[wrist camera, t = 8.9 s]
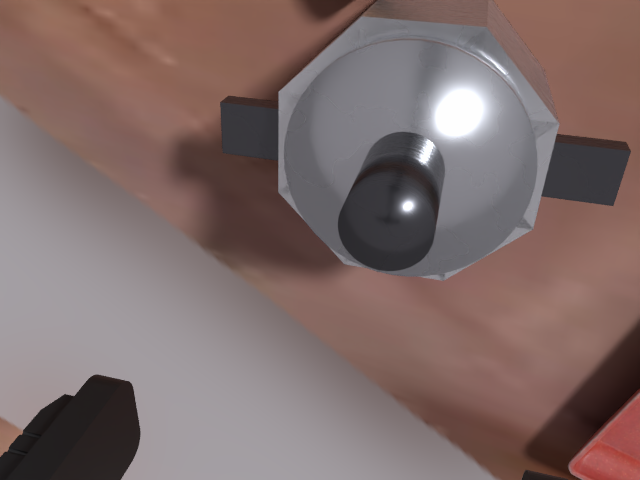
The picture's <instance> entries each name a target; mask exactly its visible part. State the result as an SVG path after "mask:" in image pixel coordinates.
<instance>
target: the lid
mask: <svg viewBox="0 0 640 480" xmlns="http://www.w3.org/2000/svg"><path fill="white" fill-rule="evenodd" d="M284 169H285V174H286V179H287V184H288V187H289V190H290V193H291V196H292V198H293V200H294V203H295V205H296V207H297V209H298V211H299V212H300V214H301V215H302V217H303V219H304V220H305V222H306V223H307V224H308V226H309V227H310V228H311V229H312V230H313V232H314V233H315V234H316V235H317V236H318V237H319V238H320V239H321V240H322V241H323V242H324V243H325V244H326V245H328V246H329V247H330V248H332V249H333V250H334V251H336V252H337V253H338V254H340V255H342V256H343V257H345V258H347V259H348V260H350V261H352V262H354V263H356V264H358V265H361V266H363V267H366V268H369V269H371V270H374V271H377V272H382V273H386V274H391V275H399V276H430V275H438V274H442V273H447V272H451V271H454V270H457V269H460V268H463V267H466V266H468V265H470V264H472V263H474V262H476V261H478V260H480V259H481V258H483V257H484V256H486V255H487V254H489V253H490V252H492V251H493V250H494V249H495V248H497V247H498V246H499V245H500V244H501V243H502V242H504V241H505V239H506V238H507V237H508V236H509V235H510V234H511V233H512V232H513V231H514V229H515V228H516V226H517V225H518V223H519V222H520V220H521V219H522V218H523V216H524V214H525V212H526V210H527V208H528V205H529V203H530V201H531V197H532V194H533V191H534V188H535V182H536V176H537V148H536V141H535V134H534V129H533V126H532V122H531V119H530V115H529V113H528V111H527V108H526V106H525V104H524V102H523V100H522V98H521V96H520V95H519V93H518V92H517V90H516V89H515V87H514V86H513V84H512V83H511V82H510V81H509V80H508V79H507V77H506V76H505V75H504V74H503V73H502V72H501V71H500V70H499V69H498V68H496V67H495V66H494V65H493V64H492V63H491V62H490V61H488V60H487V59H485V58H484V57H482V56H481V55H479V54H477V53H476V52H474V51H472V50H470V49H468V48H466V47H464V46H462V45H459V44H457V43H454V42H451V41H447V40H444V39H441V38H435V37H429V36H423V35H400V36H391V37H385V38H381V39H377V40H373V41H370V42H367V43H365V44H362V45H360V46H357V47H355V48H353V49H351V50H349V51H348V52H346V53H344V54H342V55H341V56H339V57H338V58H337V59H335V60H334V61H333V62H332V63H330V64H329V65H328V66H327V67H326V68H325V69H324V70H323V71H322V72H321V73H320V74H319V75H318V76H317V77H316V78H315V79H314V80H313V81H312V82H311V83H310V85H309V86H308V87H307V89H306V90H305V91H304V93H303V94H302V95H301V97H300V99H299V101H298V102H297V104H296V106H295V108H294V110H293V112H292V115H291V118H290V120H289V123H288V127H287V131H286V136H285V143H284Z"/></svg>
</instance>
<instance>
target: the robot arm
mask: <svg viewBox="0 0 640 480" xmlns="http://www.w3.org/2000/svg"><path fill="white" fill-rule="evenodd" d="M139 440H140V426H139V420H138V414H137V408H136V402H135V396H134V390H133V386H132V384H131V383H130V382H129V381H124V380H120V379H115V378H111V377H106V376H101V375H93V376H92V377H90V378H89V379H88V380H87V381H86V383H85V384H84V385H83V386H82V387H81V389H80V390H79V391H78V392H77V394H76V395H75V396H71V395H66V394H64V395H63V396H61V397H60V398H58V399H57V400H55V401H54V402H52V403H51V404H49V405H48V406H46V407H45V408H43V409H42V410H40V412H39V413H38V414H37V415H36V416H35V417H34V419H33V420H32V421H31V422H30V423H29V424H28V426H27V427H26V428H25V429H24V430H23V434H22V435H19V436H18V437H17V438H16V440H15V441H14V442H13V443H12V444H11V445H10V447H9V450H8V451H7V452H4V453H3V455H2V456H1V457H0V480H121V478H122V476H123V475H124V473H125V472H126V470H127V469H128V467H129V465H130V464H131V462H132V461H133V459H134V456H135V454H136V452H137V449H138V446H139ZM522 480H568V479H565V478H561V477H556V476H552V475H547V474H543V473H538V472H533V471H529V470H526V471H525V472H524V474H523V477H522Z"/></svg>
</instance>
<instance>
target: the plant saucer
mask: <svg viewBox="0 0 640 480" xmlns="http://www.w3.org/2000/svg"><path fill="white" fill-rule="evenodd" d="M568 469H569V471H570V473H571V474H572V475H574V476H576V477H578V478H580V479H582V480H640V388H639V389H638V390H637V391H636V392H635V393H634V394H633V395H632V396H631V397H630V398H629V399H628V400H627V401H626V402H625V403H624V404H623V405H622V406H621V407H620V408H619V409H618V410H617V411H616V412H615V413H614V414H613V415H612V416H611V417H610V418H609V419H608V420H607V421H606V422H605V423H604V424H603V425H602V426H601V427H600V428H599V430H598V431H597V432H596V433H595V434H594V435H593V436H592V437H591V438H590V439H589V440H588V441H587V442H586V443H585V444H584V445H583V446H582V447H581V448H580V449H579V451H578V452H577V453H576V454H575V455H574V456H573V458H572V459H571V460H570V462H569V464H568Z"/></svg>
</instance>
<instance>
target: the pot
mask: <svg viewBox="0 0 640 480" xmlns="http://www.w3.org/2000/svg"><path fill="white" fill-rule="evenodd" d="M400 35H423V36H429V37H435V38H441V39H444V40H447V41H451V42H454V43H457V44H459V45H462V46H464V47H466V48H468V49H470V50H472V51H474V52H476V53H477V54H479V55H481V56H482V57H484V58H485V59H487V60H488V61H490V62H491V63H492V64H493V65H494V66H495V67H496V68H498V69H499V70H500V71H501V72H502V73H503V74H504V75H505V76H506V77H507V79H508V80H509V81H510V82H511V83H512V84H513V86H514V87H515V89H516V90H517V92H518V93H519V95H520V96H521V98H522V100H523V102H524V104H525V106H526V108H527V111H528V113H529V115H530V119H531V122H532V126H533V129H534V134H535V141H536V148H537V176H536V182H535V188H534V191H533V194H532V197H531V201H530V203H529V205H528V208H527V210H526V212H525V214H524V216H523V218H522V219H521V220H520V222H519V223H518V225H517V226H516V228H515V229H514V231H513V232H512V233H511V234H510V235H509V236H508V237H507V238H506V239H505V241H504V242H502V243H501V244H500V245H499V246H498V247H497V248H495V249H494V250H493V251H492V252H494V251H496V250H498V249H499V248H501V247H503V246H505V245H506V244H508V243H510V242H512V241H513V240H515V239H517V238H519V237H520V236H522V235H524V234H526V233H527V232H529V231H531V230H533V227H534V223H535V219H536V215H537V211H538V207H539V203H540V199H541V196H544V197H551V198H558V199H566V200H573V201H580V202H588V203H595V204H603V205H610V206H613V205H614V202H615V199H616V196H617V193H618V190H619V187H620V183H621V180H622V177H623V174H624V171H625V168H626V165H627V162H628V158H629V155H630V152H631V151H630V149H629V147H628V145H627V143H626V142H621V141H612V140H604V139H595V138H587V137H578V136H570V135H561V134H557V131H558V127H559V120H558V117H557V113H556V109H555V106H554V102H553V99H552V95H551V91H550V88H549V84H548V80H547V77H546V73H545V70H544V69H543V67H542V66H541V65H540V63H539V62H538V61H537V59H536V58H535V57H534V55H533V54H532V52H531V51H530V50H529V48H528V47H527V46H526V44H525V43H524V42H523V40H522V39H521V38H520V36H519V35H518V33H517V32H516V31H515V29H514V28H513V27H512V25H511V24H510V23H509V21H508V20H507V19H506V17H505V16H504V14H503V13H502V12H501V10H500V9H499V8H498V6H497V5H496V4H495V2H494V1H493V0H377V1H376V2H375V3H374V4H373V5H372V6H370V7H369V8H368V9H367V10H366V11H365V12H364V13H363V14H362V15H361V16H360V17H358V18H357V19H356V20H355V21H354V22H353V23H352V24H351V25H350V26H349V27H347V28H346V29H345V30H344V31H343V32H342V33H341V34H340V35H339V36H338V37H337V38H335V39H334V40H333V41H332V42H331V43H330V44H329V45H328V46H327V47H326V48H324V49H323V50H322V51H321V52H320V53H319V54H318V55H317V56H316V57H315V58H314V59H312V60H311V61H310V62H309V63H308V64H307V65H306V66H305V67H304V68H303V69H302V70H301V71H300V72H299V73H298V74H297V75H296V76H295V77H293V78H292V79H291V80H290V81H289V82H288V83H287V84H286V85H285V86H284V87H283V88H282V89H281V90H280V91H279V92H278V93H279V102H278V101H269V100H261V99H252V98H243V97H235V96H228V97H226V98H225V99H224V100H223V101H221V102H220V106H221V127H222V149H223V153H226V154H234V155H241V156H249V157H256V158H263V159H271V160H278V193H280V195H281V196H282V197H283V198H284V199H285V200H286V201H287V202H288V203H289V204H290V205H291V207H292V208H293V209H294V210H295V211H296V212H297V213H298V214H299V215H300V216H301V217H302V215H301V214H300V212H299V211H298V209H297V207H296V205H295V203H294V200H293V198H292V196H291V193H290V190H289V187H288V184H287V179H286V174H285V169H284V143H285V136H286V131H287V127H288V123H289V120H290V118H291V115H292V112H293V110H294V108H295V106H296V104H297V102H298V101H299V99H300V97H301V95H302V94H303V93H304V91H305V90H306V89H307V87H308V86H309V85H310V83H311V82H312V81H313V80H314V79H315V78H316V77H317V76H318V75H319V74H320V73H321V72H322V71H323V70H324V69H325V68H326V67H327V66H328V65H329V64H330V63H332V62H333V61H334V60H335V59H337V58H338V57H339V56H341V55H342V54H344V53H346V52H348V51H349V50H351V49H353V48H355V47H357V46H360V45H362V44H365V43H367V42H370V41H373V40H377V39H381V38H385V37H391V36H400ZM302 218H303V217H302ZM303 220H304V219H303ZM304 221H305V220H304ZM327 246H328V245H327ZM328 247H329V246H328ZM329 248H330V247H329ZM330 249H331V250H332V251H333V252H334V253H335V254H336V256H337V257H338V258H339V259H340V260H341V261H342V262H343V263H344V264H346V265H352V266H358V267H363V266H361V265H358V264H356V263H354V262H352V261H350V260H348V259H347V258H345V257H343V256H342V255H340V254H338V253H337V252H336V251H334V250H333V249H332V248H330ZM492 252H490V253H489V254H491V253H492ZM489 254H487V255H489ZM487 255H486V256H487ZM484 257H485V256H484ZM484 257H483V258H484ZM481 259H482V258H481ZM476 262H477V261H476ZM474 263H475V262H474ZM472 264H473V263H472ZM472 264H470V265H472ZM470 265H468V266H470ZM468 266H466V267H468ZM466 267H463V268H460V269H457V270H454V271H451V272H447V273H442V274H438V275H430V276H419V277H425V278H431V279H437V280H443V281H444V280H445V279H447V278H449V277H451V276H452V275H454V274H456V273H458V272H459V271H461V270H463V269H465V268H466ZM364 268H366V267H364Z"/></svg>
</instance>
